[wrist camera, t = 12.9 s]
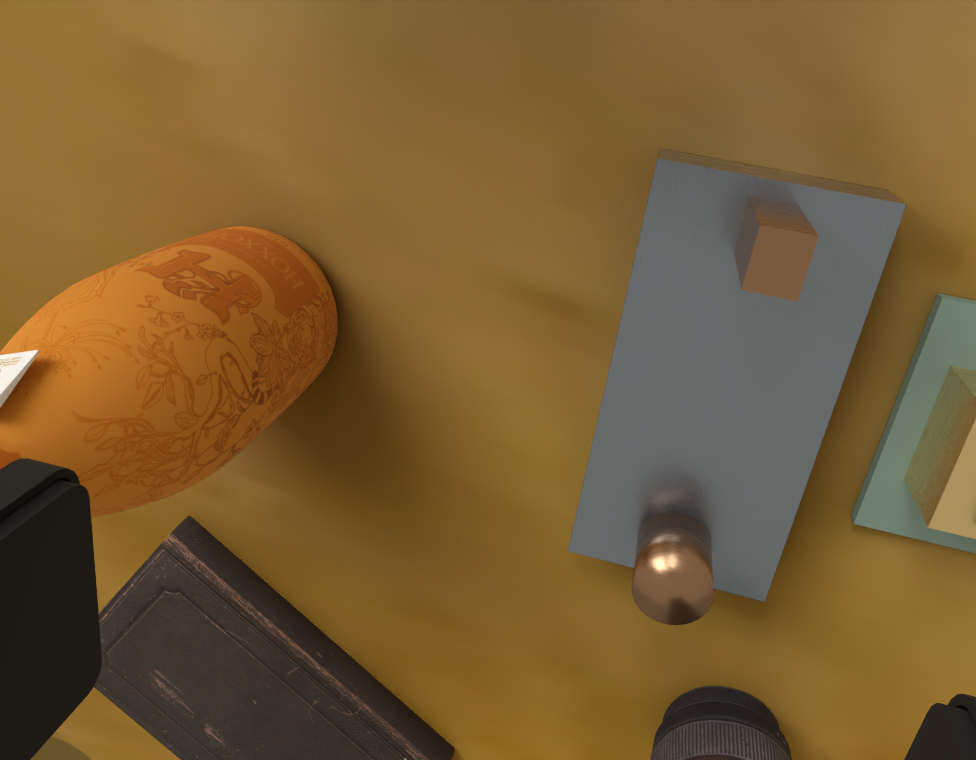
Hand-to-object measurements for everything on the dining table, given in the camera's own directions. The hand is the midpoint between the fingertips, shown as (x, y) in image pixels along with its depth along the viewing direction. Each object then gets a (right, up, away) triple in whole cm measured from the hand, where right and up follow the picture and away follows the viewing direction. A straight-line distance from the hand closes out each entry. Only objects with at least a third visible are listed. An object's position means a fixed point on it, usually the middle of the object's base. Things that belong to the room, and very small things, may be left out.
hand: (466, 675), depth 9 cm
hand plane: (+11, +4, +32) cm, 34 cm away
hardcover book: (-15, -18, +48) cm, 54 cm away
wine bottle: (-12, +7, +36) cm, 39 cm away
